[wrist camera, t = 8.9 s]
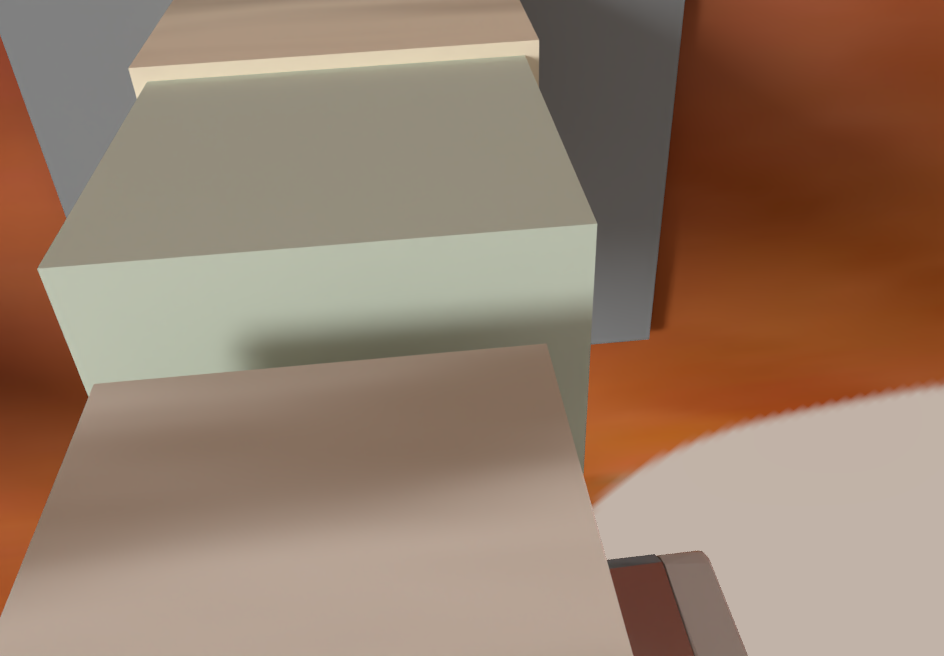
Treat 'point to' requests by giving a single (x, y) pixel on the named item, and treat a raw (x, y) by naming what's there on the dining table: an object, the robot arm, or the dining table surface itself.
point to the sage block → (330, 227)
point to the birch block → (327, 36)
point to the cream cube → (322, 518)
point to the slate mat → (560, 82)
